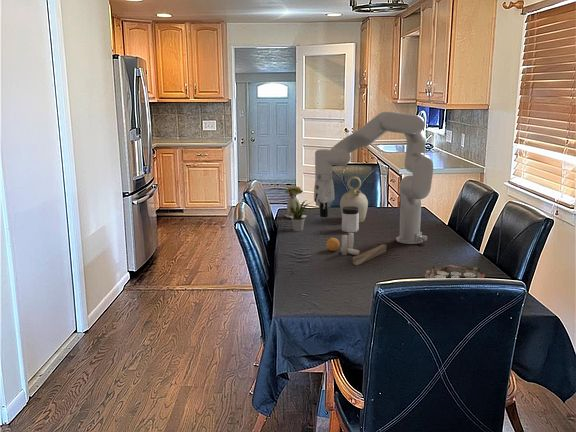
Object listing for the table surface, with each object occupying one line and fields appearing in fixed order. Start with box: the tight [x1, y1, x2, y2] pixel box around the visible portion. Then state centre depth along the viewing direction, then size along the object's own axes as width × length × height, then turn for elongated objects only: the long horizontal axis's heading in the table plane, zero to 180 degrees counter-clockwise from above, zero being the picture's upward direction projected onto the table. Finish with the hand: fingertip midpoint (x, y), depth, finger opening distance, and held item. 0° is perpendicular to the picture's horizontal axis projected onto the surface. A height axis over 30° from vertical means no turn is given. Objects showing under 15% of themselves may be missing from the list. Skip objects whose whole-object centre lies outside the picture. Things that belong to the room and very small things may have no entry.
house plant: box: [286, 200, 311, 232], centre depth 277 cm, size 14×14×16 cm
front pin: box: [340, 246, 361, 256], centre depth 236 cm, size 2×2×8 cm
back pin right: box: [347, 232, 355, 249], centre depth 238 cm, size 2×2×8 cm
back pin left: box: [341, 234, 348, 256], centre depth 234 cm, size 2×2×8 cm
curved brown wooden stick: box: [352, 244, 387, 266], centre depth 229 cm, size 2×24×3 cm, turn 140°
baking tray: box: [424, 264, 486, 279], centre depth 196 cm, size 30×22×5 cm
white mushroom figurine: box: [283, 185, 307, 219], centre depth 304 cm, size 12×13×18 cm
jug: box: [339, 175, 369, 223], centre depth 295 cm, size 15×16×25 cm
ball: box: [326, 237, 341, 252], centre depth 240 cm, size 6×6×6 cm
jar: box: [341, 206, 360, 233], centre depth 274 cm, size 9×8×12 cm
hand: (323, 216), depth 242 cm, fingers closed
